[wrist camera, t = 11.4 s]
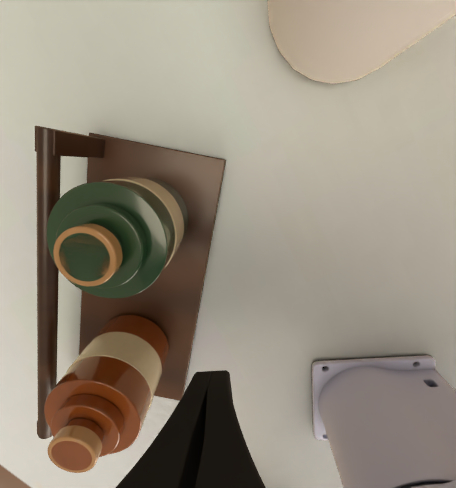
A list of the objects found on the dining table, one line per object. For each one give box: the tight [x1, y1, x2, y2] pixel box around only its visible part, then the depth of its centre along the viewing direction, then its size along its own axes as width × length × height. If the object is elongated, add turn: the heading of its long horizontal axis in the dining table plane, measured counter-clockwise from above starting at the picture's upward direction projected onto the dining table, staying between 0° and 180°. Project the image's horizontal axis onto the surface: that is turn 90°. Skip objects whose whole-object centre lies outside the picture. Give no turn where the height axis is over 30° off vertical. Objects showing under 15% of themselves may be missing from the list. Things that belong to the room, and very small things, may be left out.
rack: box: [35, 126, 226, 439], centre depth 19 cm, size 20×9×6 cm, turn 169°
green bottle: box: [46, 176, 189, 298], centre depth 15 cm, size 6×6×8 cm
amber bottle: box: [44, 315, 169, 473], centre depth 18 cm, size 6×6×8 cm
